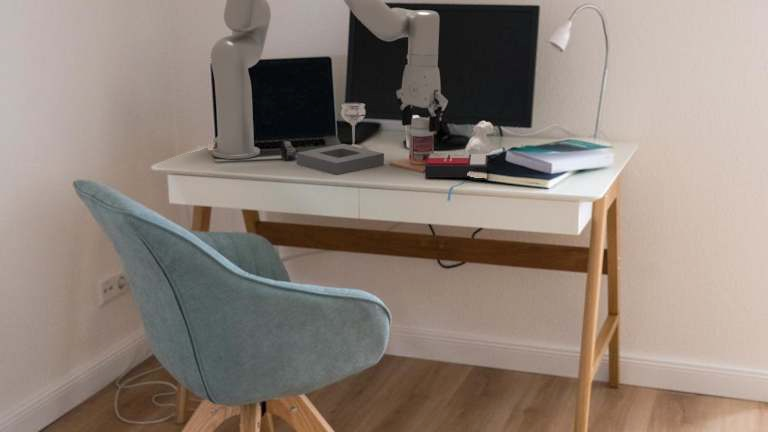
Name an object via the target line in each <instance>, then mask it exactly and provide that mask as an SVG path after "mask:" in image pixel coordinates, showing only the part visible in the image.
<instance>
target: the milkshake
mask: <svg viewBox="0 0 768 432" xmlns="http://www.w3.org/2000/svg"><path fill="white" fill-rule="evenodd" d="M413 118H421V116H420V115H418V114H413ZM412 128H413V127H412V126H411V125H406V126H404V129H405V130H404V132H405V142H406V148H407V149H409V135H410V130H411V129H412Z"/></svg>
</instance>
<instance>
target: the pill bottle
mask: <svg viewBox="0 0 768 432" xmlns="http://www.w3.org/2000/svg"><path fill="white" fill-rule="evenodd" d="M411 126H412V127H413V128H412V129H411V130H410V135H409V148H408V150H409V151H408V153H409V156H408V157H409V161H410V162H411V163H412V164H417V165H425V164H426V161H427V158H428V155H430V153H434V132H429V117H420V118H413V119H412V120H411Z"/></svg>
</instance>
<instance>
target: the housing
mask: <svg viewBox="0 0 768 432" xmlns="http://www.w3.org/2000/svg"><path fill="white" fill-rule="evenodd" d="M351 145H352V144H346V143H341V144H336V145H329V146H325V147H320V148H314V149H309V150H305V151H299V152H296V164H297V165H299V166H303V167H306V168H310V169H314V170H317V171H321V172H325V173H328V174H332V175H336V176H339V175H343V174H347V173H353V172H356V171H361V170H365V169H371V168H374V167H379V166H384V165H385V153H384V152H380V151H377V150H372V149H366V148H359V147H355V146H351Z"/></svg>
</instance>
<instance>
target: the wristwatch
mask: <svg viewBox="0 0 768 432" xmlns="http://www.w3.org/2000/svg"><path fill="white" fill-rule="evenodd" d="M280 157H281V158H282V160H285V161H293V160H295V158H297V151H296V149H295V147H293V145H292V143H291V141H290V140H286V141H282V142H281V144H280Z"/></svg>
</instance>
